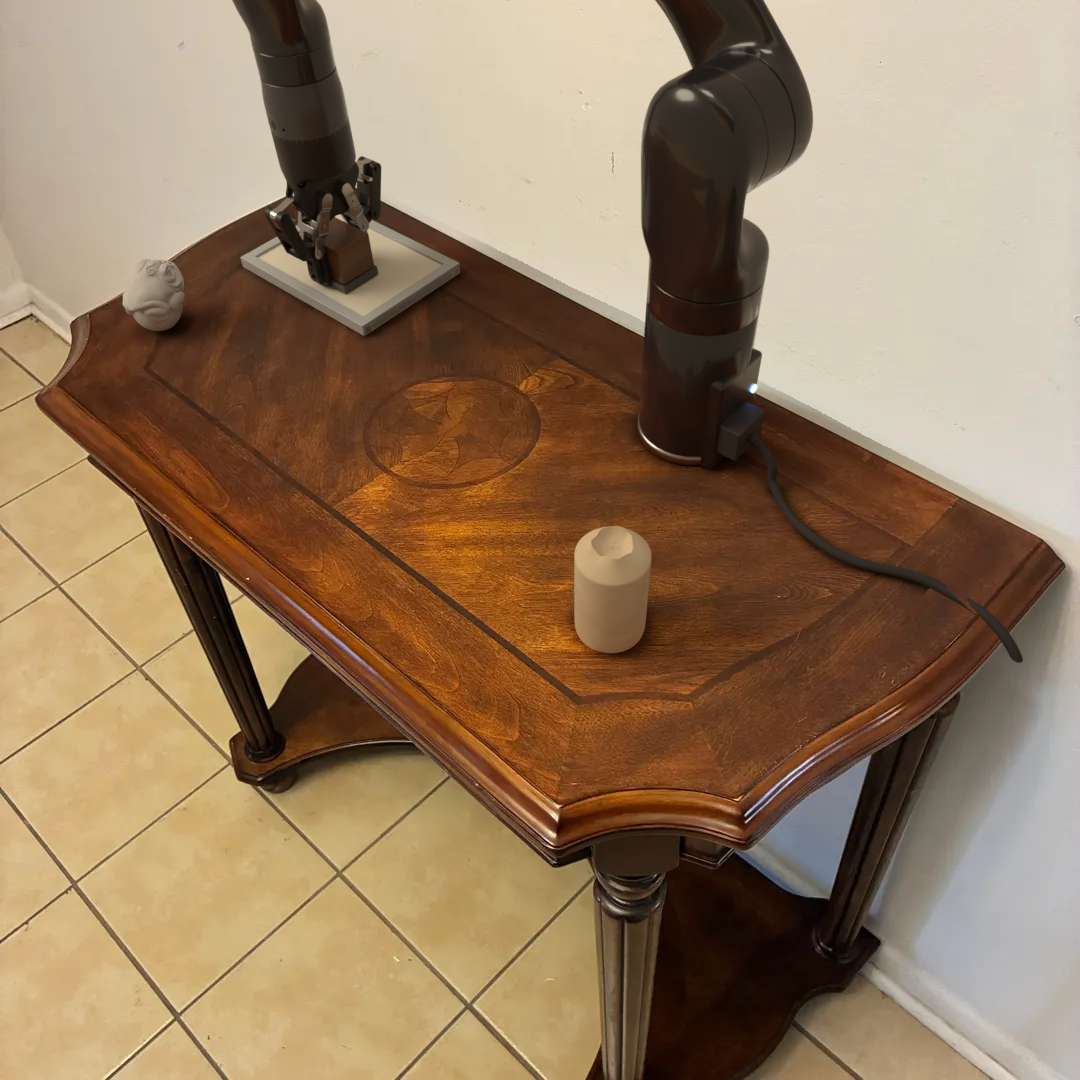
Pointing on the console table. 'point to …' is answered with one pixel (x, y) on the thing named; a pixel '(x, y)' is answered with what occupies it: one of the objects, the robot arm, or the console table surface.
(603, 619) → the candle
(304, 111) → the robot arm
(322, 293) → the whiteboard
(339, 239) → the eraser
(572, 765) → the console table surface
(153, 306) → the frog figurine
